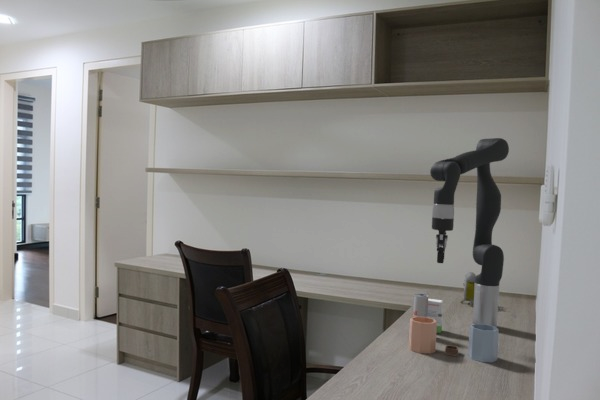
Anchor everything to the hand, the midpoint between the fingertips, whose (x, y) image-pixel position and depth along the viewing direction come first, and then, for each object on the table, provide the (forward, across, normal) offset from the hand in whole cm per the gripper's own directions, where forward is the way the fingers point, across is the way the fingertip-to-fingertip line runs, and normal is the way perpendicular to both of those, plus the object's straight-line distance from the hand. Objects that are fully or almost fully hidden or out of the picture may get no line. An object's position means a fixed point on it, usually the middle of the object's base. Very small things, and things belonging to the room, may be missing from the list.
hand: (440, 261), depth 178 cm
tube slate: (+28, +15, +15) cm, 35 cm away
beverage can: (+28, -1, -6) cm, 29 cm away
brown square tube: (+28, +15, +5) cm, 32 cm away
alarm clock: (+28, -64, +12) cm, 71 cm away
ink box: (+28, -10, -3) cm, 30 cm away
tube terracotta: (+28, +15, -4) cm, 32 cm away
